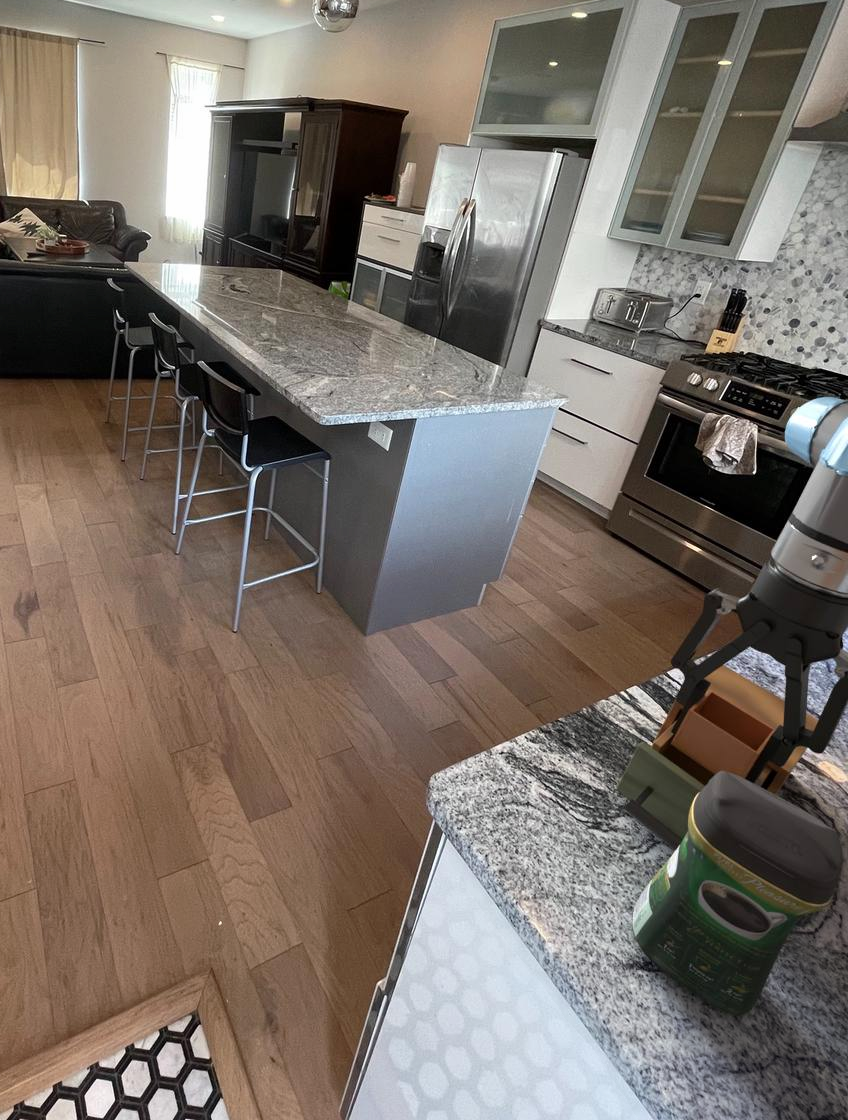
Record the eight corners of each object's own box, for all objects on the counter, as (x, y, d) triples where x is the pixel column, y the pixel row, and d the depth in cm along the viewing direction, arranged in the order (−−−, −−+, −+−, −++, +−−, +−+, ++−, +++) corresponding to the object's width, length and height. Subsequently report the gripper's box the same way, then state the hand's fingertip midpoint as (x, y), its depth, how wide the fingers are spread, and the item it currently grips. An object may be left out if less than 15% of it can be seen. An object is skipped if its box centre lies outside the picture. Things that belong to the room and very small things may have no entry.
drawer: (697, 895, 61) (727, 849, 58) (594, 809, 68) (617, 765, 65) (756, 810, 71) (784, 767, 68) (662, 743, 78) (683, 702, 76)
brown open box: (737, 790, 64) (758, 754, 62) (670, 744, 69) (689, 709, 67) (756, 764, 68) (777, 730, 66) (692, 722, 72) (710, 689, 70)
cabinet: (754, 827, 70) (789, 772, 67) (648, 751, 78) (675, 699, 75) (790, 773, 78) (823, 722, 75) (691, 710, 86) (717, 661, 83)
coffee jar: (752, 959, 57) (856, 819, 50) (747, 1040, 51) (863, 894, 44) (637, 882, 62) (715, 745, 55) (620, 947, 56) (705, 803, 49)
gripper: (689, 534, 64) (610, 705, 73) (949, 653, 50) (812, 845, 59) (717, 519, 68) (639, 682, 77) (962, 624, 54) (832, 807, 63)
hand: (714, 752), depth 68 cm, fingers closed on brown open box, 6 cm apart
